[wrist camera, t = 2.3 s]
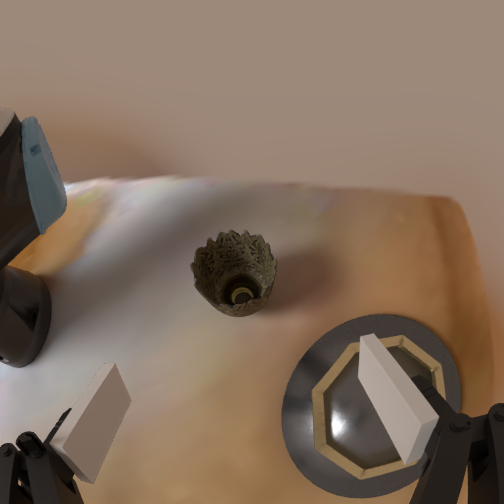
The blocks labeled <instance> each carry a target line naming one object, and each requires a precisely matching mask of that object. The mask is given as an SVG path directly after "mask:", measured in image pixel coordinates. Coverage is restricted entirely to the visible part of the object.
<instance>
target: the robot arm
mask: <svg viewBox="0 0 504 504" xmlns="http://www.w3.org/2000/svg"><path fill="white" fill-rule="evenodd" d="M66 206H67V196H66V192H65V188H64V185H63V182H62V179H61V176H60V173H59V170H58V168H57V165H56V163H55V160H54V157H53V155H52V152H51V149H50V147H49V144H48V142H47V140H46V137H45V135H44V132H43V130H42V128H41V126H40V125H39V124H38V121H37V119H36V118H35V117H33V116H31V117H29V118H25V119H24V120H23V121H22V122H20V121H19V120H18V117H17V116H16V114H15V112H14V111H13V109H11V108H0V361H1V362H2V363H4V364H7V365H9V366H12V367H16V368H18V367H23V366H25V365H27V364H29V363H30V362H31V361H32V360H33V359H34V358H35V357H36V355H37V354H38V353H39V351H40V349H41V348H42V346H43V343H44V341H45V339H46V336H47V333H48V329H49V324H50V318H51V300H50V295H49V292H48V289H47V287H46V285H45V284H44V283H43V282H42V281H41V280H40V279H39V278H38V277H36V276H35V275H34V274H32V273H30V272H28V271H24V270H21V269H18V268H15V267H12V266H9V265H7V264H8V263H9V262H11V261H12V260H13V259H14V258H15V257H16V256H17V255H18V254H19V253H20V252H21V251H22V250H23V249H24V248H26V247H27V246H28V245H29V244H30V243H31V242H32V241H33V240H35V239H36V238H37V237H38V236H39V235H40V234H41V235H43V234H45V232H46V229H48V228H49V227H50V226H51V225H52V224H53V223H54V222H55V221H57V220H58V219H59V218H60V217H61V216H62V215H63V214H64V212H65V210H66ZM358 378H359V380H360V382H361V384H362V386H363V387H364V389H365V391H366V393H367V395H368V397H369V398H370V400H371V402H372V404H373V406H374V408H375V409H376V411H377V413H378V415H379V417H380V419H381V421H382V423H383V424H384V426H385V428H386V430H387V432H388V434H389V436H390V438H391V440H392V442H393V443H394V445H395V447H396V449H397V451H398V453H399V455H400V457H401V459H402V461H403V463H404V465H406V464H409V463H411V462H414V461H416V460H418V459H421V457H422V455H423V453H424V451H425V453H426V454H427V456H428V458H427V460H426V462H425V463H424V465H423V467H422V469H423V471H422V474H421V476H420V479H419V482H418V484H417V487H416V489H415V491H414V494H413V496H412V498H411V501H410V503H409V504H457V501H458V497H459V494H460V491H461V487H462V483H463V479H464V475H465V471H466V467H467V465H468V504H504V403H498V404H495V405H493V406H492V407H491V408H490V410H489V412H488V414H486V415H482V416H478V417H474V418H471V417H469V416H468V415H466V414H462V413H456V412H455V411H454V410H453V409H452V408H451V406H450V405H449V404H448V403H447V402H446V400H445V399H444V398H443V397H442V396H441V394H440V393H438V391H437V390H436V388H434V386H433V385H432V384H431V382H430V381H429V380H428V379H426V378H424V377H422V376H421V375H417V376H414V377H412V378H409V377H408V375H407V374H406V373H405V372H404V370H403V369H402V368H401V367H400V365H399V364H398V363H397V361H396V360H395V359H394V358H393V356H392V355H391V354H390V353H389V352H388V350H387V349H386V348H385V347H384V345H383V344H382V343H381V342H380V340H379V339H378V338H377V337H376V336H375V334H374V333H373V334H369V335H365V336H360V353H359V369H358ZM131 401H132V400H131V398H130V396H129V393H128V391H127V389H126V387H125V385H124V383H123V380H122V378H121V376H120V374H119V371H118V369H117V367H116V364H115V363H104V364H103V366H102V367H101V368H100V370H99V371H98V373H97V374H96V375H95V377H94V378H93V380H92V381H91V382H90V384H89V385H88V387H87V388H86V389H85V391H84V392H83V394H82V395H81V397H80V398H79V399H78V401H77V402H76V404H75V405H74V407H73V408H69V409H68V410H67V411H66V412H64V413H63V414H62V416H61V417H60V419H59V422H57V423H56V425H55V427H54V428H53V429H52V430H51V432H50V433H49V435H48V437H47V438H46V440H45V441H44V443H42V442H41V440H40V439H39V438H38V436H37V435H36V434H35V433H34V432H30V431H28V432H24V433H22V434H21V435H20V436H18V438H17V440H16V445H17V446H18V447H19V449H20V450H21V451H18V450H17V448H16V447H15V446H14V445H13V444H11V443H5V444H3V445H1V447H0V504H84V502H83V500H82V497H81V495H80V492H79V490H78V487H77V484H76V482H75V480H74V479H73V476H74V474H75V475H76V476H77V477H78V478H79V479H80V480H81V481H85V482H88V483H92V484H94V482H95V480H96V477H97V475H98V473H99V470H100V468H101V466H102V463H103V461H104V459H105V457H106V454H107V452H108V450H109V448H110V446H111V443H112V441H113V439H114V437H115V435H116V432H117V430H118V428H119V426H120V424H121V422H122V420H123V417H124V415H125V413H126V411H127V409H128V407H129V405H130V403H131ZM18 479H19V480H20V481H21V486H20V485H19V484H18Z"/></svg>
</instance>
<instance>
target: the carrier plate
mask: <svg viewBox="0 0 504 504" xmlns="http://www.w3.org/2000/svg"><path fill="white" fill-rule="evenodd" d="M373 333H374V334H375V336H376V337H377V338H378V339H379V340H380V342H381V343H382V344H383V345H384V347H385V348H386V349H387V350H388V352H389V353H390V354H391V355H392V356H393V358H394V359H395V360H396V361H397V363H398V364H399V365H400V367H401V368H402V369H403V370H404V372H405V373H406V374H407V375H408V377H409V378H412V377H414V376H417V375H421V376H422V377H424V378H426V379H428V380H429V381H430V382H431V384H432V385H433V386H434V388H436V390H437V391H438V393H440V394H441V396H442V397H443V398H444V399H445V400H446V402H447V403H448V404H449V405H450V406H451V408H452V409H453V410H454V411H455V412H456V413H460V408H461V384H460V379H459V374H458V370H457V367H456V364H455V362H454V360H453V358H452V356H451V354H450V352H449V351H448V349H447V347H446V346H445V345H444V343H443V342H442V341H441V340H440V339H439V338H438V337H437V336H436V335H435V334H434V333H433V332H432V331H431V330H429V329H428V328H426V327H425V326H423V325H422V324H420V323H418V322H416V321H414V320H411V319H408V318H405V317H401V316H396V315H386V314H378V315H368V316H363V317H359V318H356V319H353V320H350V321H347V322H345V323H343V324H341V325H339V326H337V327H335V328H334V329H332V330H331V331H329V332H327V333H326V334H325V335H324V336H322V337H321V338H320V339H319V340H317V341H316V342H315V343H314V344H313V346H312V347H311V348H310V349H309V350H308V351H307V352H306V353H305V355H304V356H303V357H302V359H301V360H300V361H299V363H298V365H297V367H296V368H295V370H294V372H293V374H292V376H291V378H290V381H289V383H288V385H287V388H286V392H285V395H284V399H283V406H282V431H283V436H284V440H285V444H286V447H287V450H288V452H289V454H290V457H291V459H292V460H293V462H294V463H295V465H296V466H297V468H298V469H299V470H300V472H301V473H302V474H303V475H304V476H305V477H306V478H307V479H308V480H310V481H311V482H312V483H313V484H315V485H316V486H318V487H320V488H321V489H323V490H325V491H327V492H330V493H333V494H335V495H339V496H343V497H349V498H371V497H377V496H382V495H386V494H389V493H392V492H395V491H397V490H399V489H401V488H403V487H405V486H407V485H409V484H411V483H412V482H414V481H415V480H417V479H418V478H420V476H421V474H422V471H423V469H422V467H423V465H424V463H425V462H426V460H427V458H428V456H427V454H426V453H425V451H424V453H423V455H422V457H421V459H418V460H416V461H414V462H411V463H409V464H406V465H404V463H403V461H402V459H401V457H400V455H399V453H398V451H397V449H396V447H395V445H394V443H393V442H392V440H391V438H390V436H389V434H388V432H387V430H386V428H385V426H384V424H383V423H382V421H381V419H380V417H379V415H378V413H377V411H376V409H375V408H374V406H373V404H372V402H371V400H370V398H369V397H368V395H367V393H366V391H365V389H364V387H363V386H362V384H361V382H360V380H359V378H358V369H359V353H360V336H365V335H369V334H373Z"/></svg>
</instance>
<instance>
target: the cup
mask: <svg viewBox="0 0 504 504" xmlns="http://www.w3.org/2000/svg"><path fill="white" fill-rule="evenodd" d="M276 268H277V260H276V259H274V257H273V254H271V250H270V245H269V243H265V241H264V239H263V237H262V236H261V235H259V234H256V235H253V236H250V235H249V233H248V231H247V230H244V231H243V232H242V235H241V236H240V235H239V234H238V233H236V232H235V231H233V230H230V231H229V232H228V233H227V234H226V233H224V232H220V233H219V234H218V236H217V239H216V242H215V241H213V240H212V238H209V239H208V240H207V246H205V247H200V248H198V249H197V250H196V252H195V257H194V262H192V263H191V270H192V271H193V273H194V277H195V278H194V280H195V283H196V284H194V286H195V287H196V289H197V290H198V291H199V293H200V294H201V295H202V296H203V297H204V298H205V299H206V300H207V301H208V302H209V303H210V304H211V305H212V306H213V307H215V308H216V309H217V310H219V311H220V312H222V313H224V314H226V315H229V316H233V317H244V316H248V315H251V314H253V313H255V312H257V311H258V310H260V309H261V308H262V307H263V306H264V305H265V303H266V302H267V300H268V298H269V296H270V294H271V291H272V288H273V284H274V279H275V275H276ZM240 293H247V294H248V295H249V296H250V299H251V300H250V301H249V302H247V303H243V304H237V303H236V297H237V295H238V294H240Z"/></svg>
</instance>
